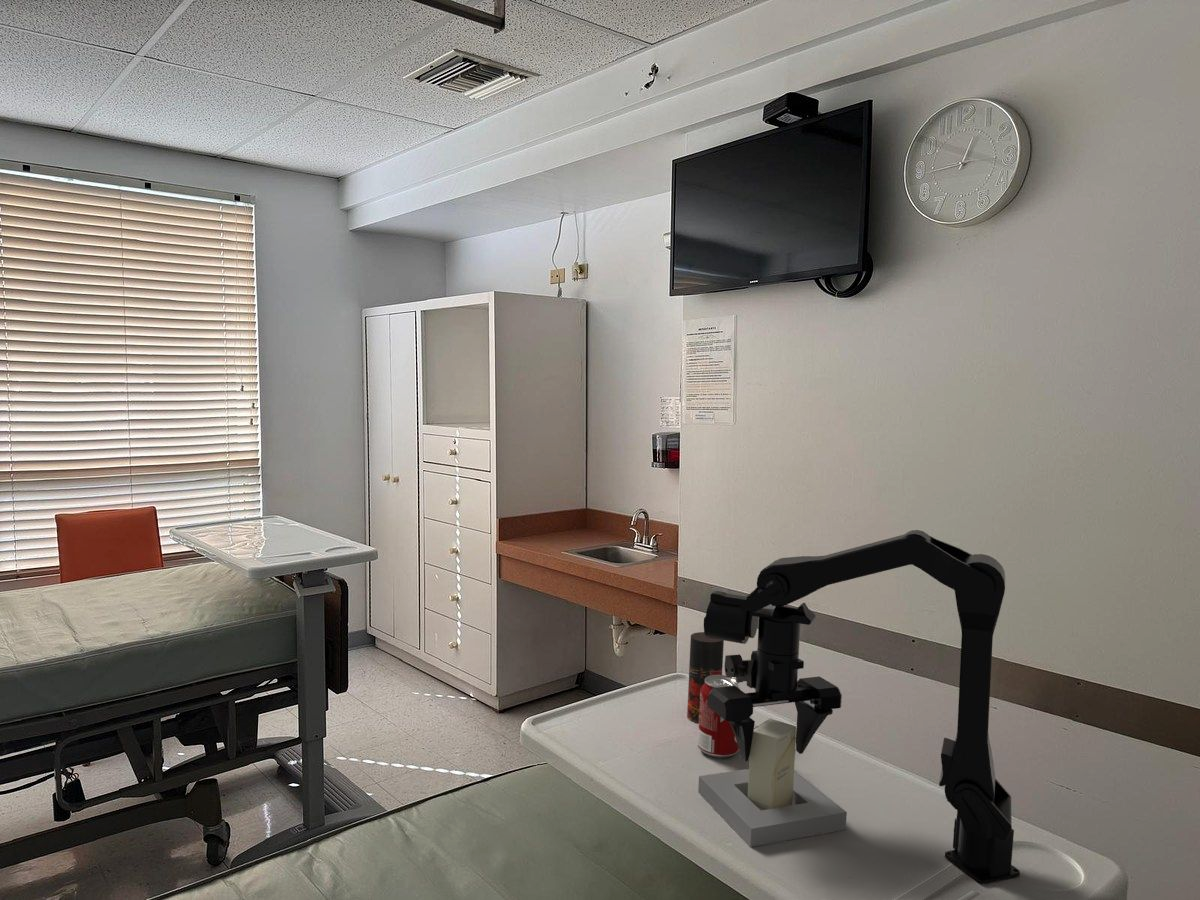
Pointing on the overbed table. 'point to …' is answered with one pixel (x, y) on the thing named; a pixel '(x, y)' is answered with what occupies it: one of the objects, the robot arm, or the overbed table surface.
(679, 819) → the overbed table surface
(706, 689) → the soda can
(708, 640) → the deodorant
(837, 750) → the overbed table surface
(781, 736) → the skincare box
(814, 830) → the socket holder
